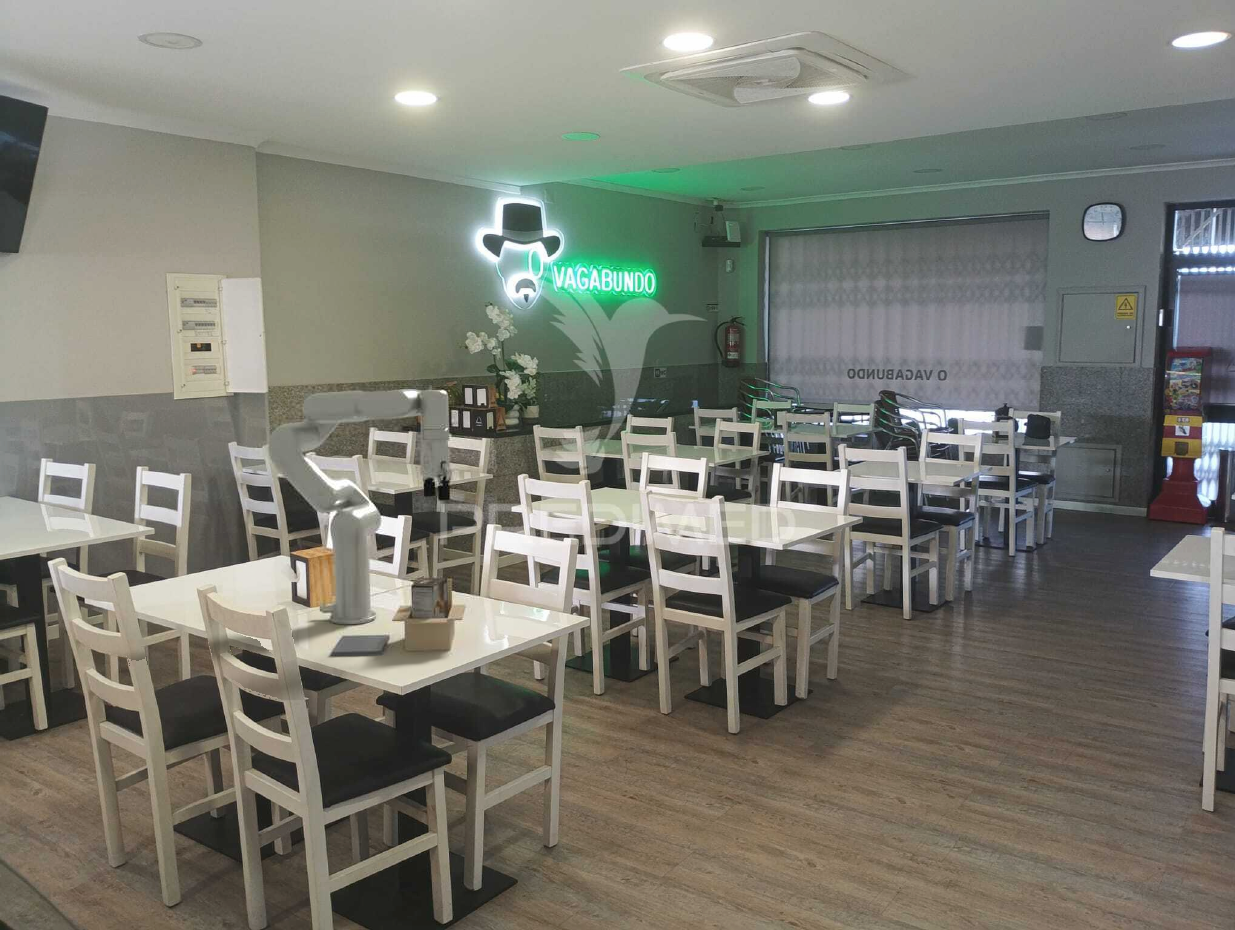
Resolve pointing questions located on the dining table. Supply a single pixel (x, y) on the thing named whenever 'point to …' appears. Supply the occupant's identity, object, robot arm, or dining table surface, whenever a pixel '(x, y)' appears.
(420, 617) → the coffee box
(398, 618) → the carton
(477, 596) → the dining table surface
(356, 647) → the tray
